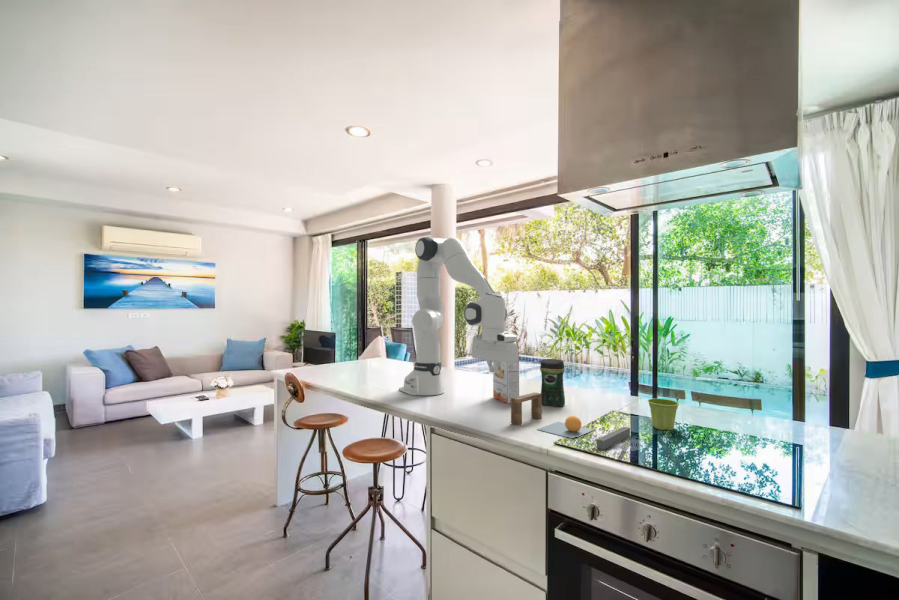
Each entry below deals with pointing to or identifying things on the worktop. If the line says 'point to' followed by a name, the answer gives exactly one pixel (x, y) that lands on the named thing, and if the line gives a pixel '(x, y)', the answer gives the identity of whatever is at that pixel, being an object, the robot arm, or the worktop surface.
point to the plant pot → (663, 413)
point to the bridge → (517, 407)
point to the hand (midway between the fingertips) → (493, 372)
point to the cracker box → (506, 381)
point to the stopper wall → (613, 438)
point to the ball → (573, 423)
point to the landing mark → (563, 430)
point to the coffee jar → (552, 382)
